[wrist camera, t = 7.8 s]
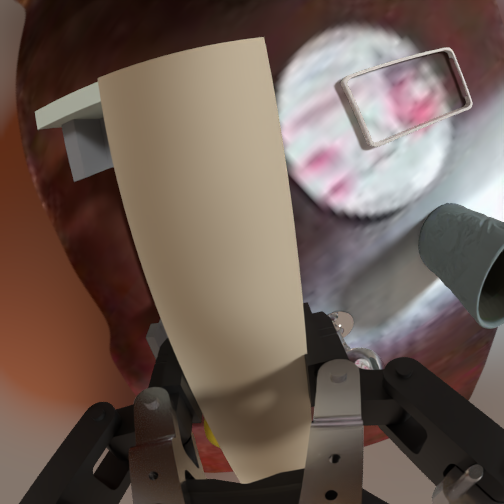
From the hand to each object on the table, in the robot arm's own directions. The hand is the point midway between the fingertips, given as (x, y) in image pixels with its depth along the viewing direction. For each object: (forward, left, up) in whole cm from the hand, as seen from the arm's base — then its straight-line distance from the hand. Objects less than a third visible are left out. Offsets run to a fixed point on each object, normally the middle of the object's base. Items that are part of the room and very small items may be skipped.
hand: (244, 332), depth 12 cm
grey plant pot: (-24, +7, -18) cm, 30 cm away
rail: (0, 0, -2) cm, 2 cm away
